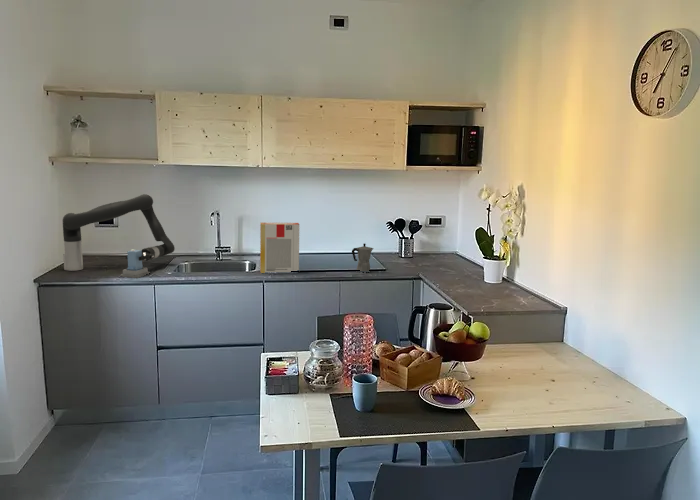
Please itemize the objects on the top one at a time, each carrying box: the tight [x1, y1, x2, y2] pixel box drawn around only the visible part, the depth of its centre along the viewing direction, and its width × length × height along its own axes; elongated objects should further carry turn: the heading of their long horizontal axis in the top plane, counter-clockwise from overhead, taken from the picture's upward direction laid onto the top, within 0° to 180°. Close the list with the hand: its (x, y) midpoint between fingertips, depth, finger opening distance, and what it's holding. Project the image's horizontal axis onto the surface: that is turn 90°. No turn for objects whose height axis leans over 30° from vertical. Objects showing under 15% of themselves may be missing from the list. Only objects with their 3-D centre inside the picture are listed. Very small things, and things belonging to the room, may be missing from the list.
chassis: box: [120, 266, 151, 279], centre depth 311 cm, size 11×12×4 cm
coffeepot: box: [351, 242, 374, 271], centre depth 337 cm, size 15×9×18 cm, turn 119°
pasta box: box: [259, 222, 300, 274], centre depth 328 cm, size 23×8×30 cm, turn 100°
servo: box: [126, 249, 144, 271], centre depth 310 cm, size 5×9×14 cm, turn 166°
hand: (132, 258), depth 308 cm, fingers open, 8 cm apart
